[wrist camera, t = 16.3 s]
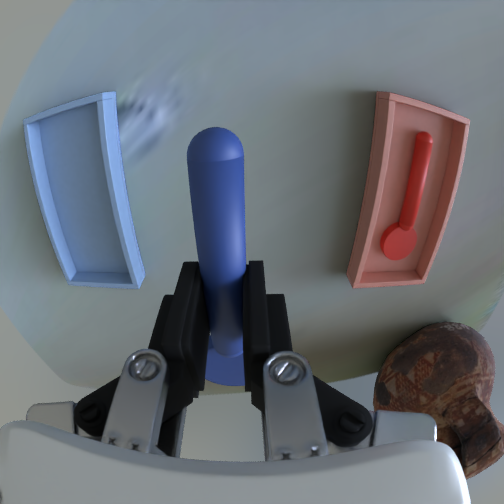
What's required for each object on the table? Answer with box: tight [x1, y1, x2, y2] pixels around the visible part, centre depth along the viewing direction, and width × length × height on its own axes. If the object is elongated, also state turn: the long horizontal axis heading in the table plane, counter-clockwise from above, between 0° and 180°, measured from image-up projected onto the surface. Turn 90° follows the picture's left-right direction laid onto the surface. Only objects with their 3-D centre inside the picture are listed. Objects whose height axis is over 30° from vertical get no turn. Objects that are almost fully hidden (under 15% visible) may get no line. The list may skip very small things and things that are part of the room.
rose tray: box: [346, 91, 470, 288], centre depth 21 cm, size 18×9×2 cm, turn 179°
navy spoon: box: [187, 127, 246, 386], centre depth 10 cm, size 13×4×2 cm, turn 0°
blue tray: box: [23, 91, 145, 289], centre depth 21 cm, size 18×9×2 cm, turn 179°
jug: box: [373, 322, 504, 480], centre depth 26 cm, size 22×21×25 cm
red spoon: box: [380, 131, 433, 260], centre depth 21 cm, size 13×4×2 cm, turn 179°
